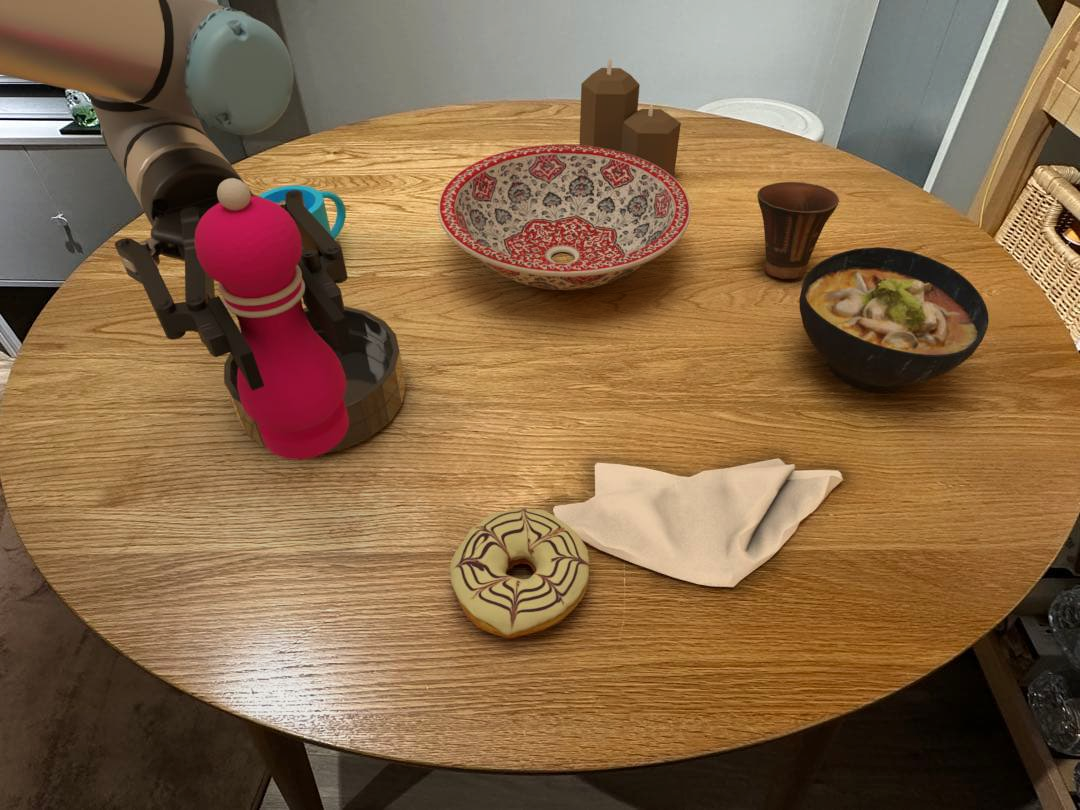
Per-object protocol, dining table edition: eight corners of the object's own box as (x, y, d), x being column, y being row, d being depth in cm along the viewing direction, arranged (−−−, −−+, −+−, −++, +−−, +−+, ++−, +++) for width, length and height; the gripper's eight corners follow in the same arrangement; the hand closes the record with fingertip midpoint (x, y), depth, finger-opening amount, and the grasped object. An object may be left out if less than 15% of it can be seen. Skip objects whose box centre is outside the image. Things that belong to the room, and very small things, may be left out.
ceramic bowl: (608, 182, 109) (612, 127, 103) (730, 292, 90) (743, 232, 84) (411, 230, 100) (403, 172, 94) (501, 363, 81) (497, 301, 75)
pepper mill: (310, 383, 61) (239, 139, 47) (376, 420, 58) (322, 172, 44) (235, 437, 56) (133, 187, 42) (302, 481, 53) (217, 228, 39)
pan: (273, 485, 69) (257, 443, 65) (218, 384, 79) (201, 342, 75) (434, 414, 75) (428, 372, 71) (364, 328, 85) (356, 287, 81)
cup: (782, 239, 98) (800, 165, 91) (834, 274, 92) (857, 198, 85) (727, 258, 95) (742, 184, 88) (778, 296, 89) (798, 219, 82)
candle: (551, 163, 113) (552, 57, 102) (630, 143, 117) (639, 40, 107) (598, 205, 104) (604, 94, 94) (681, 182, 108) (696, 74, 98)
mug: (300, 289, 90) (283, 228, 85) (254, 267, 94) (235, 207, 88) (372, 244, 97) (361, 185, 92) (327, 224, 101) (314, 166, 95)
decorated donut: (426, 582, 62) (421, 554, 59) (526, 509, 67) (525, 481, 64) (513, 672, 56) (511, 646, 53) (614, 585, 61) (617, 557, 59)
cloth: (555, 591, 61) (555, 575, 59) (551, 461, 71) (551, 444, 69) (883, 587, 61) (892, 571, 59) (834, 458, 71) (840, 441, 69)
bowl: (756, 376, 79) (776, 297, 72) (822, 296, 89) (845, 220, 82) (924, 450, 72) (965, 369, 65) (976, 354, 81) (1016, 275, 74)
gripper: (311, 203, 66) (438, 348, 52) (88, 270, 59) (166, 458, 45) (291, 118, 61) (427, 253, 47) (43, 180, 54) (116, 361, 40)
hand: (299, 353), depth 46 cm, fingers closed on pepper mill, 5 cm apart
